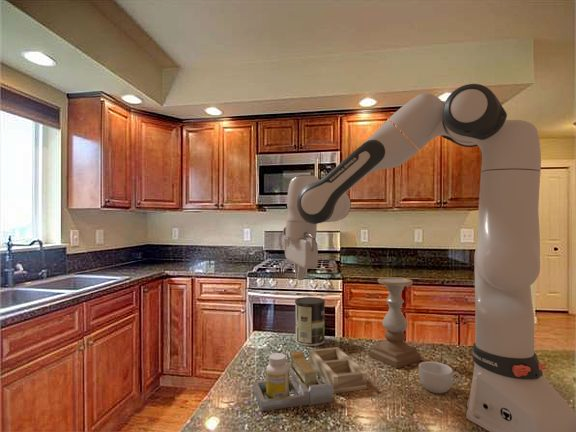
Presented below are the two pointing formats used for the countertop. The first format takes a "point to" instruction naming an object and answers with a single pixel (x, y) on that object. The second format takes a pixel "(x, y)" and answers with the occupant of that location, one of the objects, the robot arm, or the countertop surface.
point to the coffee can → (310, 321)
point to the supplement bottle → (277, 376)
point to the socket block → (301, 394)
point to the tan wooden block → (303, 368)
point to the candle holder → (395, 328)
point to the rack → (338, 370)
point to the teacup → (436, 376)
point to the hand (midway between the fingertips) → (299, 279)
